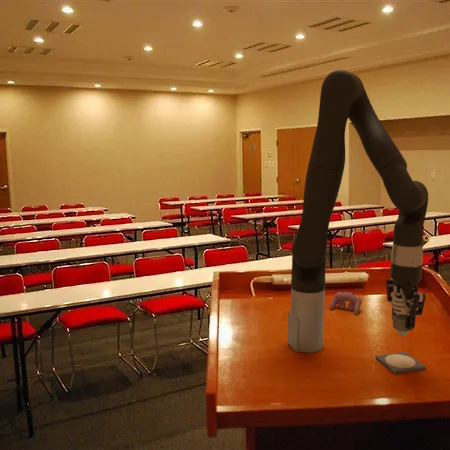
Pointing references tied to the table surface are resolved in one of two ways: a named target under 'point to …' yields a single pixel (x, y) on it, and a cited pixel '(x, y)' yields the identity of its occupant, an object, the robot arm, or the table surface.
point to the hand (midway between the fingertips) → (402, 323)
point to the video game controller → (346, 296)
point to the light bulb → (400, 316)
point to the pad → (400, 362)
